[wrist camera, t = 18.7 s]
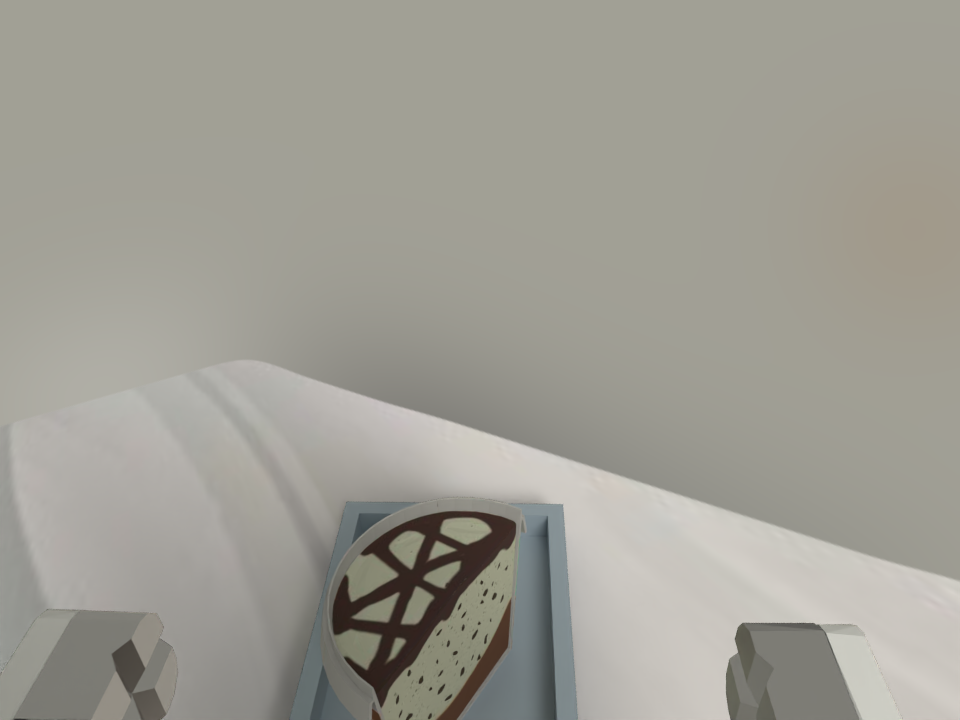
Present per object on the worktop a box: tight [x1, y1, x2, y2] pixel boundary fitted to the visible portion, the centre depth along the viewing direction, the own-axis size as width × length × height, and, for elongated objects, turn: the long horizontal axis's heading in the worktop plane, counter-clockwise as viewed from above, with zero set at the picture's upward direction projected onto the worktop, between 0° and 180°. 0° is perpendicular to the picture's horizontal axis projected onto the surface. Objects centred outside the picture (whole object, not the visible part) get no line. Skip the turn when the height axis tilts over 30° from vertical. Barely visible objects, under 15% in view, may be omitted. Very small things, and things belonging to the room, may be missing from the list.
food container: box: [320, 497, 527, 720], centre depth 37 cm, size 12×6×10 cm, turn 147°
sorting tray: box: [289, 502, 578, 720], centre depth 41 cm, size 14×20×2 cm
